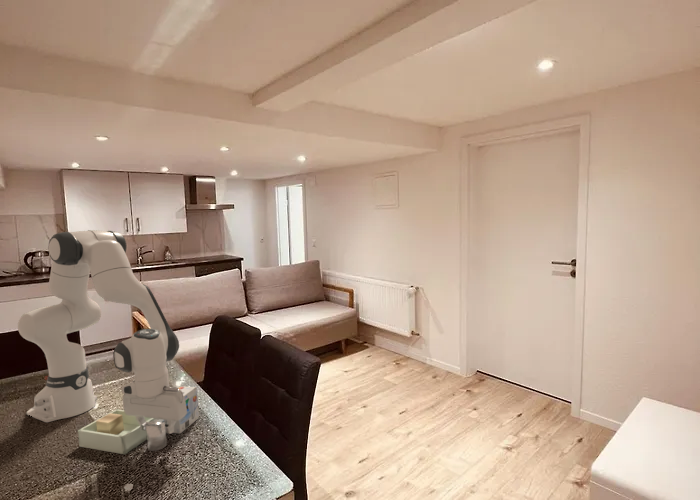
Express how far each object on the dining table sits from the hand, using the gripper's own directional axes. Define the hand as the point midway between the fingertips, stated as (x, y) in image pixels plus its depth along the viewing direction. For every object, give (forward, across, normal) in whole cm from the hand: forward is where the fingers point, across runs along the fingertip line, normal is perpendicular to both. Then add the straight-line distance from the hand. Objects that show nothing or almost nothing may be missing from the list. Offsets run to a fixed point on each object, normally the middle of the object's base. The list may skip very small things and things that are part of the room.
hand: (157, 430), depth 118 cm
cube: (+3, +19, -1) cm, 20 cm away
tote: (+4, +16, -1) cm, 16 cm away
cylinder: (+5, 0, 0) cm, 5 cm away
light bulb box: (+5, +2, -12) cm, 13 cm away
